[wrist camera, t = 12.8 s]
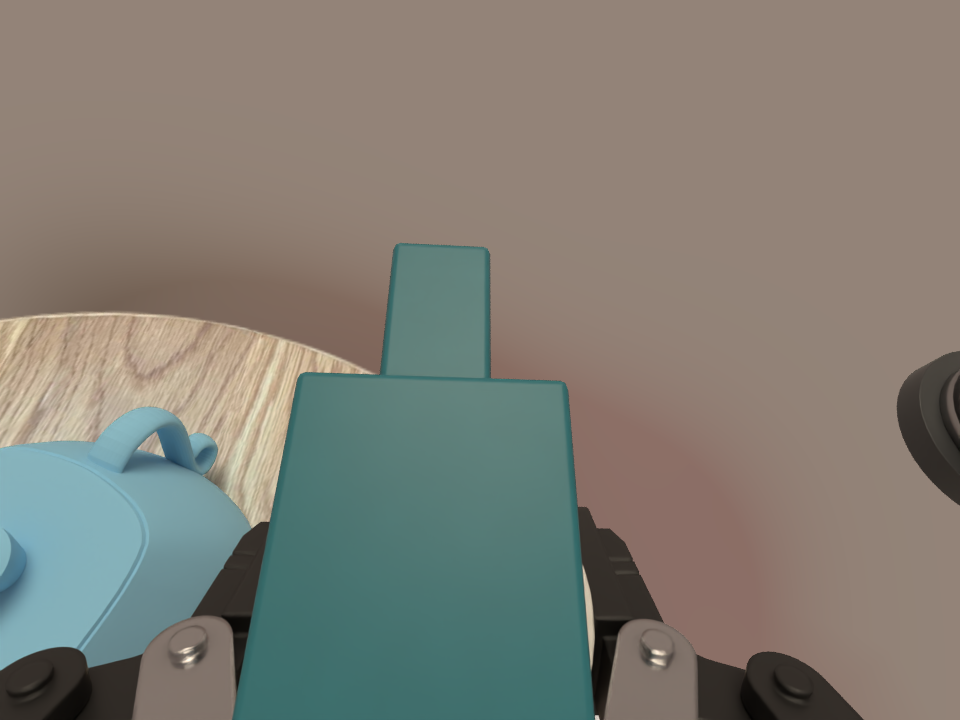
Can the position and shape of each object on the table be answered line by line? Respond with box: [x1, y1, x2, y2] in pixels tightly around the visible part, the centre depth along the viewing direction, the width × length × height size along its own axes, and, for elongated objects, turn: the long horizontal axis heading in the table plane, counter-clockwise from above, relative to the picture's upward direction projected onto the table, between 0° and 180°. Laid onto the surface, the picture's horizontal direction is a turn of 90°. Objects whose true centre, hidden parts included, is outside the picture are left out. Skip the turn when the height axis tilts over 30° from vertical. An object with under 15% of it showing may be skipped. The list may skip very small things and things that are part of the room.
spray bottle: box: [232, 243, 595, 720], centre depth 12 cm, size 7×6×16 cm
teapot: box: [0, 407, 251, 671], centre depth 21 cm, size 13×11×18 cm
